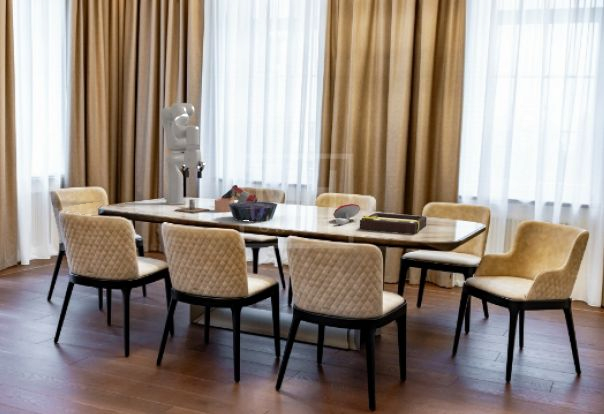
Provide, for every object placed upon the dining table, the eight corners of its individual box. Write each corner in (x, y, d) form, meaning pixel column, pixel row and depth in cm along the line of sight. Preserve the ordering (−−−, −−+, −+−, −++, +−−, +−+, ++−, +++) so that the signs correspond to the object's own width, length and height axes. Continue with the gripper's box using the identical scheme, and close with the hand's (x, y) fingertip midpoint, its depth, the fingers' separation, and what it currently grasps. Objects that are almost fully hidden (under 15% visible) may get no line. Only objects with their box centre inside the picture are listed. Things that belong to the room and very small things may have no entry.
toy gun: (248, 220, 400) (259, 198, 397) (217, 203, 402) (228, 182, 399) (250, 218, 405) (261, 197, 402) (220, 202, 407) (230, 181, 404)
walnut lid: (174, 210, 377) (174, 199, 376) (191, 208, 389) (191, 197, 388) (193, 213, 370) (193, 202, 369) (209, 210, 381) (209, 199, 381)
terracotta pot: (210, 211, 380) (210, 199, 379) (223, 209, 389) (223, 198, 389) (225, 213, 374) (225, 201, 373) (237, 211, 384) (237, 199, 383)
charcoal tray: (172, 212, 377) (172, 211, 377) (191, 209, 390) (191, 208, 390) (193, 214, 368) (193, 213, 368) (212, 211, 382) (212, 210, 382)
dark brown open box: (416, 221, 319) (357, 217, 330) (416, 235, 320) (356, 230, 331) (427, 214, 345) (372, 210, 356) (427, 227, 346) (371, 222, 357)
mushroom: (318, 223, 347) (318, 204, 346) (342, 218, 368) (343, 200, 367) (339, 226, 340) (340, 206, 339) (363, 221, 361) (364, 202, 360)
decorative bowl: (219, 221, 358) (218, 203, 356) (257, 213, 377) (256, 196, 375) (250, 228, 340) (249, 209, 338) (288, 218, 360) (287, 200, 358)
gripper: (177, 147, 377) (177, 177, 379) (199, 148, 367) (200, 178, 369) (186, 147, 383) (186, 176, 385) (208, 148, 374) (209, 178, 376)
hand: (193, 177), depth 377 cm, fingers open, 9 cm apart
